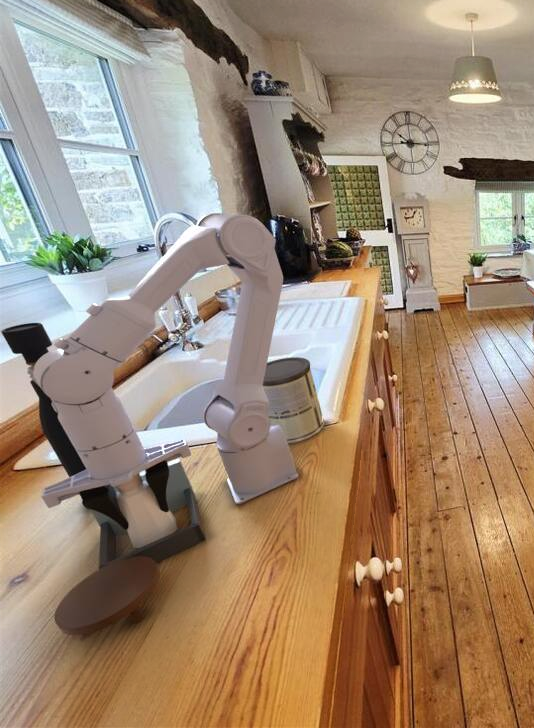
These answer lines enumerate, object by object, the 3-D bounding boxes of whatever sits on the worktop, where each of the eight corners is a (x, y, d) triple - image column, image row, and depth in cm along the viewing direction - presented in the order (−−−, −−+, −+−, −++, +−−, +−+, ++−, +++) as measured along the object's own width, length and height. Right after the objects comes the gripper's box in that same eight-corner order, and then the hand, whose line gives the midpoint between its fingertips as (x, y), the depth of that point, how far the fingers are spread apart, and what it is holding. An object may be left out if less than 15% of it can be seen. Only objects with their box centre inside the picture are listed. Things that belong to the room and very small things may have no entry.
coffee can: (261, 432, 84) (241, 370, 78) (310, 410, 91) (294, 352, 86) (283, 451, 78) (263, 385, 72) (334, 426, 85) (319, 365, 79)
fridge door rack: (196, 497, 67) (179, 458, 64) (207, 539, 59) (188, 496, 56) (107, 535, 61) (83, 493, 57) (106, 587, 53) (78, 542, 49)
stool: (165, 565, 55) (154, 543, 54) (171, 613, 49) (159, 590, 48) (73, 610, 50) (58, 587, 48) (67, 670, 44) (49, 647, 42)
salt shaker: (170, 543, 58) (139, 482, 53) (124, 554, 56) (88, 493, 52) (184, 515, 62) (157, 457, 58) (142, 525, 61) (111, 466, 57)
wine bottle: (146, 482, 71) (67, 319, 59) (110, 510, 65) (14, 335, 53) (113, 480, 72) (28, 319, 60) (74, 508, 66) (-29, 335, 54)
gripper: (17, 480, 45) (74, 566, 51) (177, 427, 54) (211, 505, 60) (27, 451, 50) (77, 532, 56) (172, 407, 59) (204, 481, 64)
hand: (146, 516), depth 58 cm, fingers closed on salt shaker, 3 cm apart
